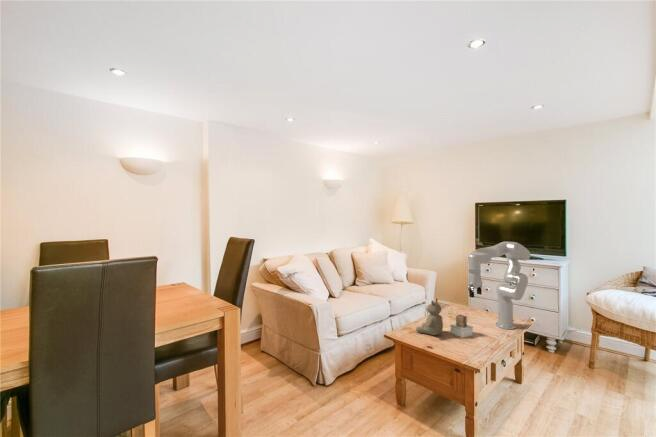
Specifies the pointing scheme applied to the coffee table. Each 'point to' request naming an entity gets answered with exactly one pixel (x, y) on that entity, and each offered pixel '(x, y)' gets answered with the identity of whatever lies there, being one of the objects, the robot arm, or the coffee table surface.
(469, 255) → the robot arm
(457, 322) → the walnut block
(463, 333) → the pale grey box
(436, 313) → the grey cat statue
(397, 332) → the coffee table surface
